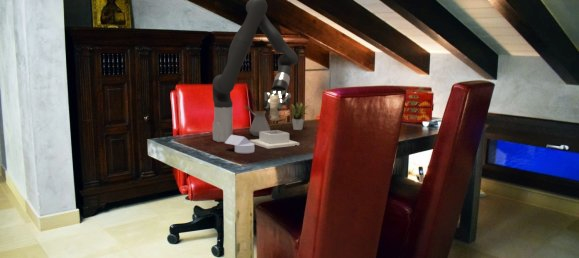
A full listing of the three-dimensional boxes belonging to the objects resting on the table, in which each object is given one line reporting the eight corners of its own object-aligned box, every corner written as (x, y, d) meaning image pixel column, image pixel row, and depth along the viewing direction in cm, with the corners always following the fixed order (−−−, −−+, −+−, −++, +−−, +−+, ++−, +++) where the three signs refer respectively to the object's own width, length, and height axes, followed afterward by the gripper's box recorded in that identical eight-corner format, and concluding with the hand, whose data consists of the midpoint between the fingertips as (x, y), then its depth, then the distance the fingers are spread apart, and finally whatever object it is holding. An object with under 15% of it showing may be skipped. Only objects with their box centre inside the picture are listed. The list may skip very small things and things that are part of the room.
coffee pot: (274, 135, 269) (274, 108, 267) (256, 137, 263) (257, 109, 260) (253, 130, 286) (253, 104, 284) (236, 132, 279) (236, 105, 277)
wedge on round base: (224, 150, 229) (245, 154, 221) (224, 135, 228) (245, 139, 220) (237, 147, 236) (258, 151, 228) (237, 133, 235) (258, 136, 227)
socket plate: (267, 148, 234) (267, 136, 233) (249, 142, 249) (249, 131, 248) (299, 145, 244) (299, 133, 243) (279, 139, 259) (279, 128, 258)
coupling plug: (271, 120, 241) (271, 96, 239) (266, 119, 245) (266, 95, 243) (282, 119, 244) (282, 95, 242) (277, 118, 248) (277, 94, 246)
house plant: (310, 131, 284) (311, 103, 282) (286, 131, 285) (287, 102, 282) (310, 127, 298) (310, 100, 296) (287, 127, 299) (287, 100, 296)
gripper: (266, 78, 250) (257, 104, 241) (293, 79, 246) (285, 105, 237) (269, 87, 256) (261, 114, 247) (296, 89, 252) (288, 115, 243)
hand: (273, 109), depth 242 cm, fingers closed on coupling plug, 4 cm apart
